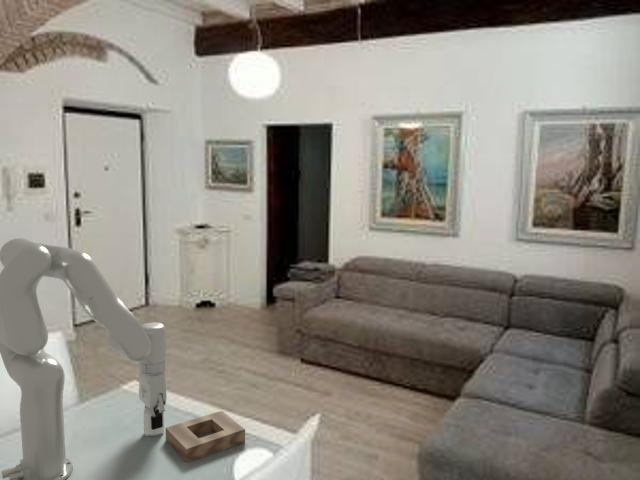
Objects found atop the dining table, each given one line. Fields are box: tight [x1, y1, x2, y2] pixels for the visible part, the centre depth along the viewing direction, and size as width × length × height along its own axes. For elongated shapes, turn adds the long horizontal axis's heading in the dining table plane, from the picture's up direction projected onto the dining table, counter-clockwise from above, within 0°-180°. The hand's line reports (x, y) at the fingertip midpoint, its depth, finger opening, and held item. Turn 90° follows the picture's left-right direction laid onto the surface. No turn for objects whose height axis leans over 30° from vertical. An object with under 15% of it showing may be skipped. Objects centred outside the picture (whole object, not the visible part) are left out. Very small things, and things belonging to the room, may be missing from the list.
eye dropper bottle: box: [143, 403, 165, 437], centre depth 154 cm, size 4×6×12 cm
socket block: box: [165, 410, 246, 464], centre depth 151 cm, size 18×14×4 cm
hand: (154, 424), depth 155 cm, fingers closed on eye dropper bottle, 3 cm apart
